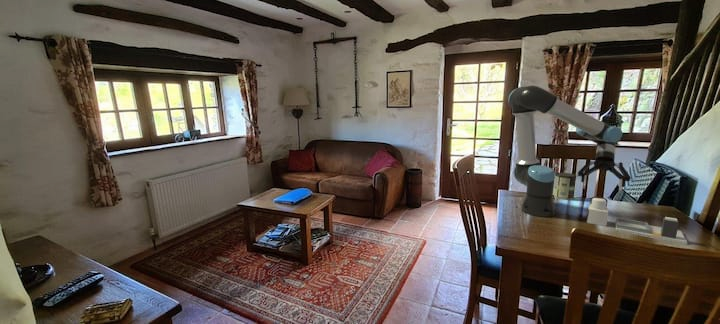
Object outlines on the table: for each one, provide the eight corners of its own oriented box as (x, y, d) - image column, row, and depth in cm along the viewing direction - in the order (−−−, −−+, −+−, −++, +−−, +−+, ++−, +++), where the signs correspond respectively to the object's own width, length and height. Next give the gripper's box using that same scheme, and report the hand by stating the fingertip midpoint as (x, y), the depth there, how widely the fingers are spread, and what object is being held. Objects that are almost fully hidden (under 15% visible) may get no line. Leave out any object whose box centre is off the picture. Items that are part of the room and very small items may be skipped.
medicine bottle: (586, 218, 144) (589, 194, 141) (605, 221, 140) (608, 197, 137) (586, 223, 138) (589, 198, 136) (606, 226, 134) (610, 201, 132)
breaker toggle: (661, 236, 120) (664, 218, 119) (660, 233, 123) (663, 216, 121) (675, 238, 118) (679, 220, 116) (674, 236, 120) (677, 218, 119)
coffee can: (568, 195, 180) (571, 172, 177) (577, 200, 170) (580, 176, 167) (549, 194, 182) (552, 172, 179) (557, 199, 172) (559, 176, 170)
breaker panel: (616, 231, 129) (617, 225, 128) (615, 221, 139) (616, 216, 138) (686, 244, 116) (687, 238, 115) (680, 233, 126) (681, 227, 125)
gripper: (636, 161, 147) (634, 197, 138) (575, 156, 162) (570, 189, 154) (639, 152, 142) (637, 189, 133) (575, 148, 157) (570, 181, 149)
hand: (601, 189), depth 143 cm, fingers open, 13 cm apart
